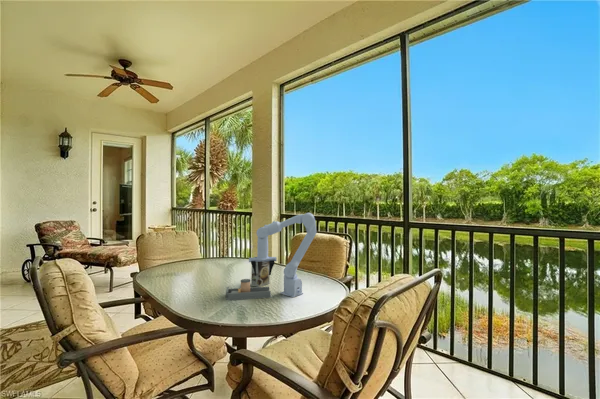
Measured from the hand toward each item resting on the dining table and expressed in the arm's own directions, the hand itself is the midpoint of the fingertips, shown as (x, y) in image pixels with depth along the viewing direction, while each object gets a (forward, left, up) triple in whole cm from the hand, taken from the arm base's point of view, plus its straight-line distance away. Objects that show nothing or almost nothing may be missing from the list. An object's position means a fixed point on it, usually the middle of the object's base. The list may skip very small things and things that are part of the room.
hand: (262, 274), depth 158 cm
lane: (+1, +9, -9) cm, 13 cm away
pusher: (+5, +14, -8) cm, 17 cm away
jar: (+2, +10, -8) cm, 13 cm away
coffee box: (+12, -9, -10) cm, 18 cm away
